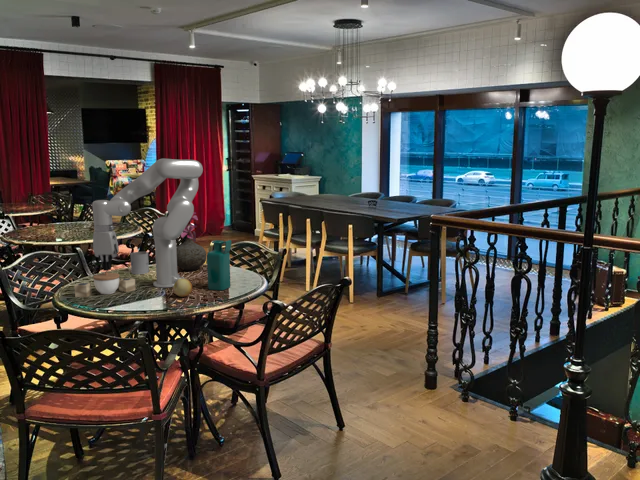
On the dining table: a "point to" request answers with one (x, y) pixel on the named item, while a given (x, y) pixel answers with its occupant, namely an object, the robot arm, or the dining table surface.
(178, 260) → the vase
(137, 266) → the mug
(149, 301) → the dining table surface
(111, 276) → the lidded jar
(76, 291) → the marked cube 1
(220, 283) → the teal bottle
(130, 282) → the marked cube 2
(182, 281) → the fruit
